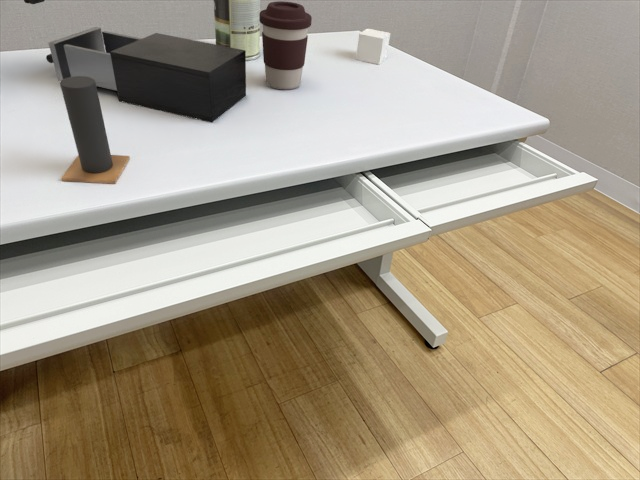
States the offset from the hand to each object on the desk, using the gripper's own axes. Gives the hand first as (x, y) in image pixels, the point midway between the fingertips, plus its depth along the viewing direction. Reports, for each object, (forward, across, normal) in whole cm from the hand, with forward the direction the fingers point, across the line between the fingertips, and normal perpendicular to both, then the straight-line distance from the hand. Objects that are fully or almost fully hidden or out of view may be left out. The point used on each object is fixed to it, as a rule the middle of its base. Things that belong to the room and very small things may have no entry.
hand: (35, 1), depth 87 cm
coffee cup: (+13, +43, +16) cm, 47 cm away
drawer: (+11, +14, -1) cm, 18 cm away
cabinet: (+12, +30, -1) cm, 32 cm away
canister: (+11, +32, -28) cm, 45 cm away
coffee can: (+13, +27, +28) cm, 41 cm away
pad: (+12, +32, -28) cm, 45 cm away
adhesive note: (+13, +56, +43) cm, 71 cm away
